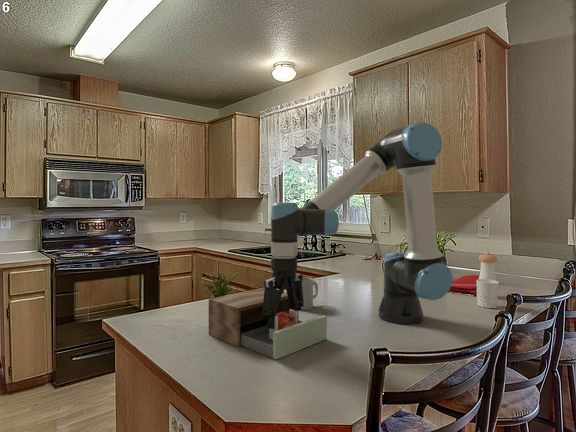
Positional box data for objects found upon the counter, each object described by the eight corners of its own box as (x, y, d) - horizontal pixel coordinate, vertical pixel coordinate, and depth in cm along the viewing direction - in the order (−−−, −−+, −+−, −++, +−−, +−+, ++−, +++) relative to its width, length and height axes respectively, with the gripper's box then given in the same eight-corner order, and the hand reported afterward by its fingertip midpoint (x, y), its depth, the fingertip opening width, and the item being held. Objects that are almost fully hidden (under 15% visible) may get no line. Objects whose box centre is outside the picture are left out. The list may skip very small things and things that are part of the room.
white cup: (500, 306, 151) (501, 281, 151) (495, 310, 145) (495, 284, 145) (479, 302, 156) (480, 278, 156) (472, 306, 151) (473, 281, 150)
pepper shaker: (492, 299, 161) (493, 254, 161) (474, 296, 167) (475, 252, 166) (499, 296, 166) (500, 252, 166) (481, 293, 172) (482, 251, 171)
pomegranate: (266, 344, 110) (283, 331, 103) (261, 320, 114) (277, 306, 107) (288, 343, 114) (306, 330, 107) (283, 319, 118) (299, 305, 111)
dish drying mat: (497, 283, 198) (497, 276, 198) (475, 298, 166) (476, 289, 166) (464, 279, 208) (465, 272, 208) (438, 292, 176) (439, 284, 176)
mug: (299, 311, 141) (300, 282, 141) (286, 306, 148) (286, 278, 148) (324, 306, 149) (324, 278, 148) (310, 301, 155) (310, 274, 155)
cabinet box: (294, 327, 123) (294, 294, 123) (237, 346, 107) (238, 308, 106) (264, 318, 133) (264, 287, 132) (208, 334, 116) (208, 299, 116)
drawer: (326, 338, 113) (326, 316, 113) (276, 359, 98) (276, 333, 97) (290, 327, 123) (290, 306, 123) (239, 344, 108) (239, 320, 108)
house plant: (227, 306, 147) (227, 264, 146) (250, 314, 137) (250, 269, 137) (194, 314, 137) (194, 268, 136) (216, 323, 127) (216, 274, 127)
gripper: (298, 252, 120) (297, 324, 120) (248, 258, 105) (248, 341, 106) (316, 254, 114) (316, 330, 115) (267, 261, 100) (266, 348, 101)
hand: (283, 335), depth 110 cm, fingers closed on pomegranate, 7 cm apart
